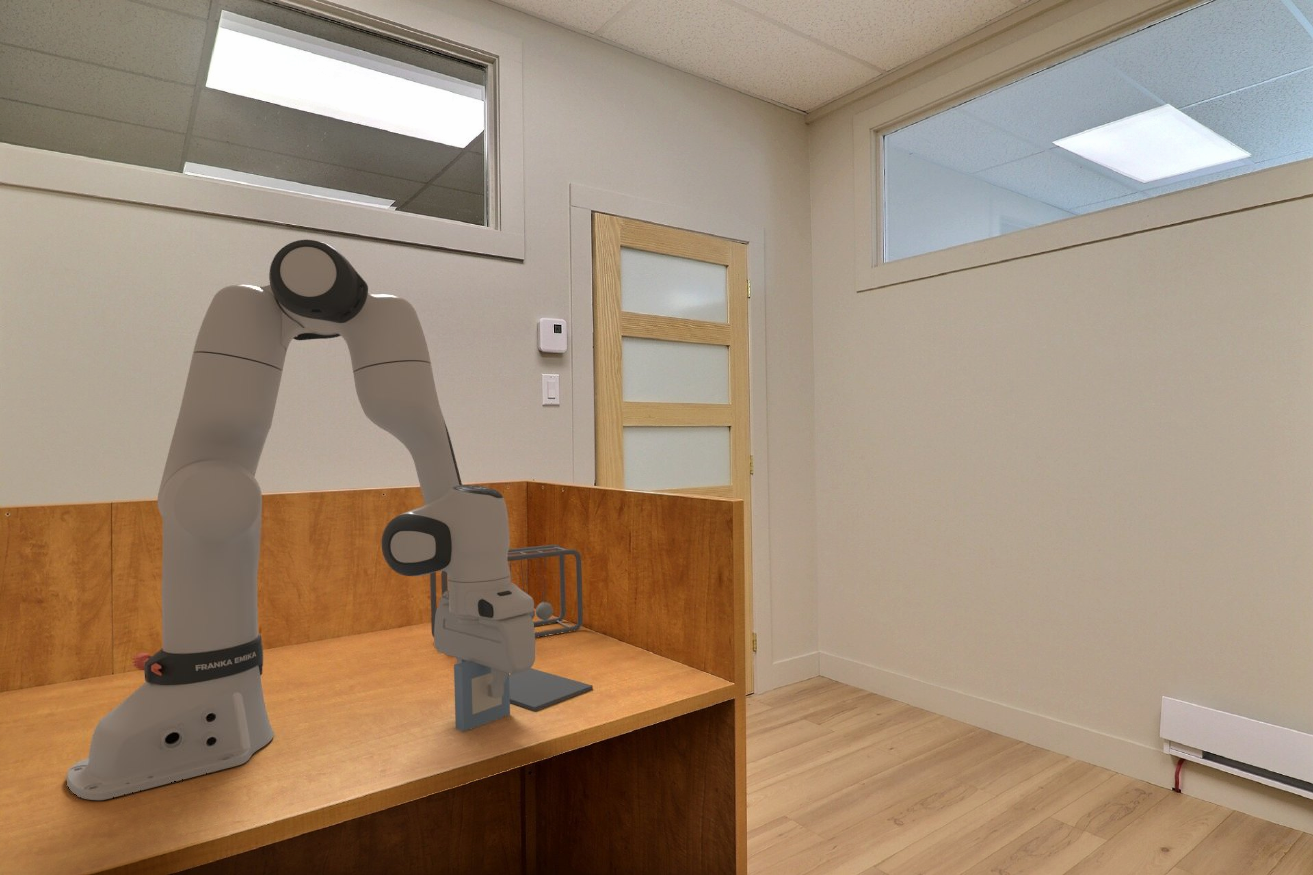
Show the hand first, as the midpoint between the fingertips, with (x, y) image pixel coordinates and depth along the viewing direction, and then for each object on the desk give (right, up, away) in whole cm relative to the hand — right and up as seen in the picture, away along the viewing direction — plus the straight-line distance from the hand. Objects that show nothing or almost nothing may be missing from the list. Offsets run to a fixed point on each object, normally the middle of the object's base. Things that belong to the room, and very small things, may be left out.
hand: (482, 692), depth 103 cm
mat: (+5, -4, +13) cm, 14 cm away
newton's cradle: (-6, -5, +48) cm, 48 cm away
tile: (0, -4, 0) cm, 4 cm away
